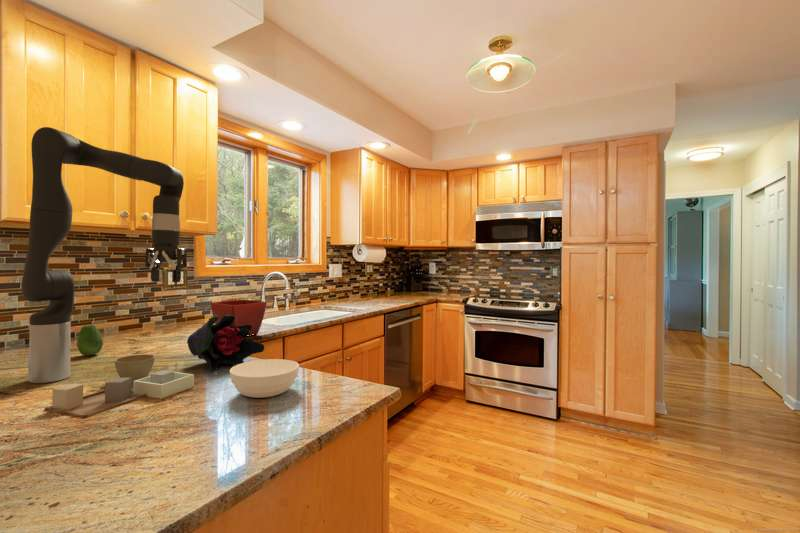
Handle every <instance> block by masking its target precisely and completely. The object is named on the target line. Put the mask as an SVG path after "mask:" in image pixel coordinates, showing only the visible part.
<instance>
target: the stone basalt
mask: <svg viewBox="0 0 800 533" xmlns="http://www.w3.org/2000/svg"><path fill="white" fill-rule="evenodd" d="M104 390H105V402H122V401H124V400H126V399H128V398H129V397H131V394H132V390H133V383H132V378H120V377H114V378H112V379H110V380H108V381H106V382H104Z"/></svg>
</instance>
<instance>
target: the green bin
mask: <svg viewBox="0 0 800 533" xmlns="http://www.w3.org/2000/svg"><path fill="white" fill-rule="evenodd" d="M194 387H195V374H193V373H185V372H178V371H174V380H173V381H170V382H167V383H164V384H157V383H150V375H148V376H147V377H145V378H142V379H138V380H135V381H133V383H132V390H133V394H136V395H144V394H147V397H149V398H154V399H155V398H156V399H162V400H163V399H164V398H167V397H171V396H173V395H175V394H178V393H181V392H183V391H186V390H189V389H191V388H194Z"/></svg>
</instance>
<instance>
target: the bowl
mask: <svg viewBox="0 0 800 533" xmlns="http://www.w3.org/2000/svg"><path fill="white" fill-rule="evenodd" d="M299 369H300V365H299V363H298V362H297V361H294V360H290V359H283V358H281V359H279V358H270V359H265V358H264V359H256V360H251V361H246V362H245V361H244V363H241V364H238V365H236V366H235V365H233V366H232V367H230V369H229V375H230V379H231V380H230V381H231V383H232V384H233V385H234V387H235V389H236V390H237V392H238V393H240V395H243V396H245V397H249V398H254V399H255V398H256V399H259V398H260V399H261V398H271V397H275V396H278V395H280V394H283V393H285V392H286V391H288V390H289V389H290V388H291V387H292V385H293V384H294V383H295V380H296V379H297V377H298V375H299V374H298V373H299Z"/></svg>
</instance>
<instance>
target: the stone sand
mask: <svg viewBox="0 0 800 533" xmlns="http://www.w3.org/2000/svg"><path fill="white" fill-rule="evenodd" d="M51 391H52V401H51V403H52V404H51V406H52V408H56V409H62V410H70V409H73V408H75V407H78V406H81V405H83V396H84V384H80V383H79V384H78V383H67V384H63V385H61V386H58V387H55V388H52V390H51Z"/></svg>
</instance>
